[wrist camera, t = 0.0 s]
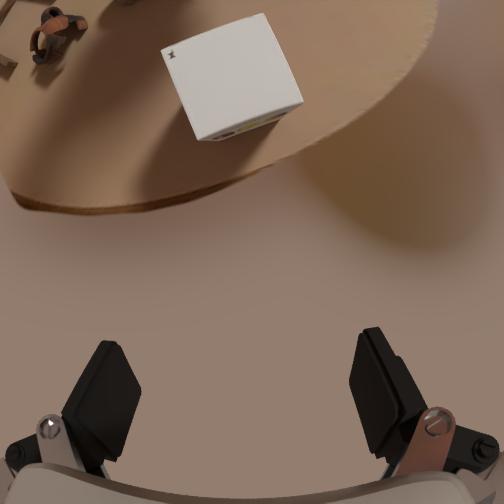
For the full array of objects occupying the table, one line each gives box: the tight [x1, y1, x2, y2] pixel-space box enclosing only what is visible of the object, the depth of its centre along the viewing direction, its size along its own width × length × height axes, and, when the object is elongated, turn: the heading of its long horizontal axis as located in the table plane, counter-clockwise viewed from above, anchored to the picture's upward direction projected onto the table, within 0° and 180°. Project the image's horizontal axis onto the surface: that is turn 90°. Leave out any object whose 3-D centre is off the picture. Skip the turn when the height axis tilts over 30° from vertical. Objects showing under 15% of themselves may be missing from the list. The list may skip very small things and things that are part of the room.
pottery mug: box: [30, 7, 88, 65], centre depth 24 cm, size 12×10×8 cm
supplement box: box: [161, 13, 304, 141], centre depth 25 cm, size 10×9×17 cm
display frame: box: [0, 0, 18, 67], centre depth 20 cm, size 18×19×3 cm
